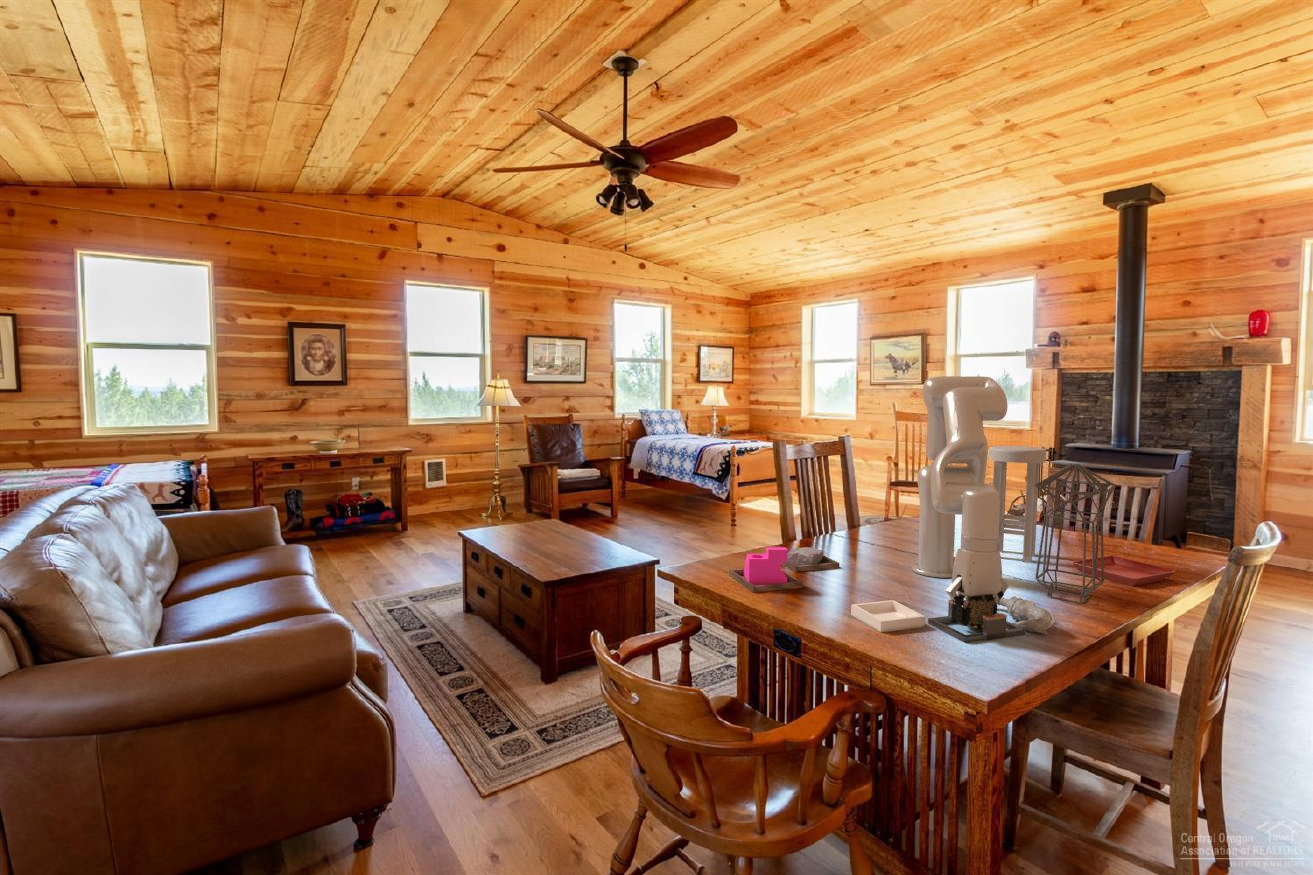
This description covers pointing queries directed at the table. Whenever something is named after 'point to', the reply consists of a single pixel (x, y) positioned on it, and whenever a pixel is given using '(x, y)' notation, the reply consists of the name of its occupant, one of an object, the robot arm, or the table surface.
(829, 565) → the brown rectangular frame
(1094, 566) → the geometric lantern
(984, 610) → the cup
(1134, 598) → the table surface
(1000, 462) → the stool
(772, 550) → the bracket
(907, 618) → the tray
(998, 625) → the frame
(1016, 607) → the seahorse
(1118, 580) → the plant saucer
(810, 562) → the stone block
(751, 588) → the brown wooden square tray
